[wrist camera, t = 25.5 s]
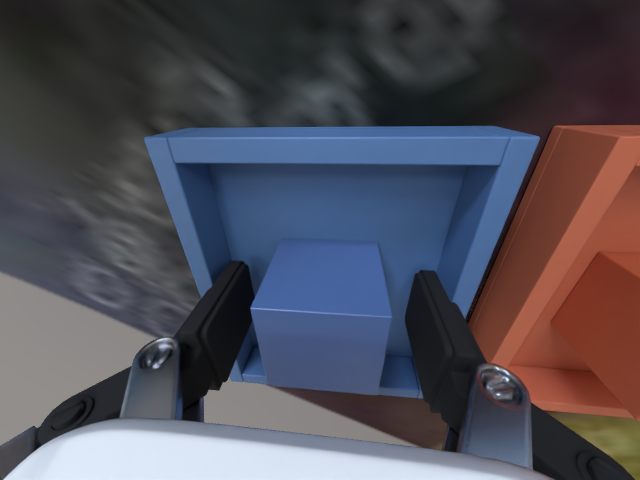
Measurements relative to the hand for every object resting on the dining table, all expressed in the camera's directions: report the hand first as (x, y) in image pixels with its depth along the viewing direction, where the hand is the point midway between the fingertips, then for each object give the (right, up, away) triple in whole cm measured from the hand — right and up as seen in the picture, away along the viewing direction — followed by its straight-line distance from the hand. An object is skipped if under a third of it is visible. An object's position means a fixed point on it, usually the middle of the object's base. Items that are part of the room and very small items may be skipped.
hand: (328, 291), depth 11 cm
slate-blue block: (0, 0, +1) cm, 1 cm away
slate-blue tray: (0, +1, +2) cm, 2 cm away
